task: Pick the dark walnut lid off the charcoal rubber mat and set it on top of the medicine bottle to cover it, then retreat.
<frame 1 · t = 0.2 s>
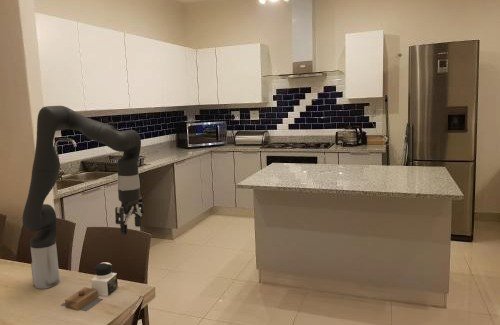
hand: (131, 230, 145), 28 cm above the table, fingers open, 8 cm apart
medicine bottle: (105, 293, 157), on the table
lid: (82, 302, 149), point 1 cm above the table, touching mat
mat: (82, 304, 149), on the table
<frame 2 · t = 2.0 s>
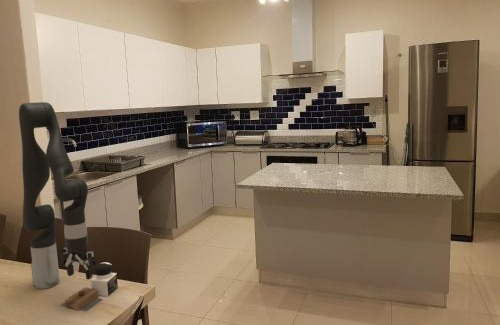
hand: (80, 276, 146), 11 cm above the table, fingers open, 8 cm apart
nothing on the table moved.
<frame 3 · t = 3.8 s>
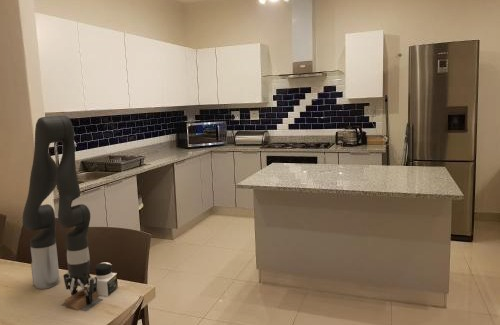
hand: (82, 301, 148), 1 cm above the table, fingers closed on lid, 6 cm apart
lid: (82, 302, 149), point 1 cm above the table, touching gripper, mat
everything else where it was.
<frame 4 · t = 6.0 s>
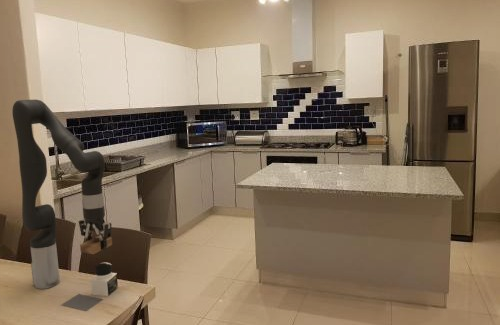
hand: (96, 247, 152), 20 cm above the table, fingers closed on lid, 6 cm apart
lid: (96, 248, 152), point 19 cm above the table, touching gripper
everything else where it was.
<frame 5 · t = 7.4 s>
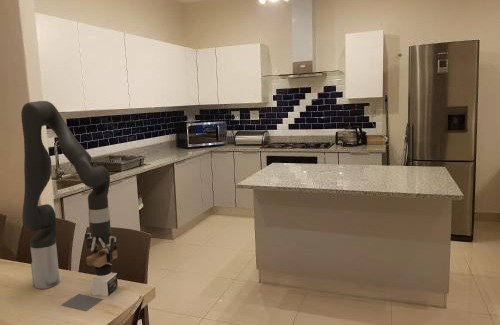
hand: (102, 260, 155), 14 cm above the table, fingers closed on lid, 6 cm apart
lid: (102, 261, 155), point 13 cm above the table, touching gripper
everything else where it was.
when the fingers open (14 cm above the table, at t = 8.5 s): lid drops 1 cm, resting on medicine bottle.
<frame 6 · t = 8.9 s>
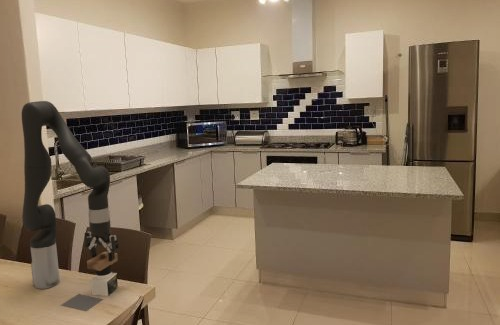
hand: (102, 259, 155), 14 cm above the table, fingers open, 8 cm apart
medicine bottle: (105, 293, 157), on the table, touching lid
lid: (103, 264, 155), point 12 cm above the table, touching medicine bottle
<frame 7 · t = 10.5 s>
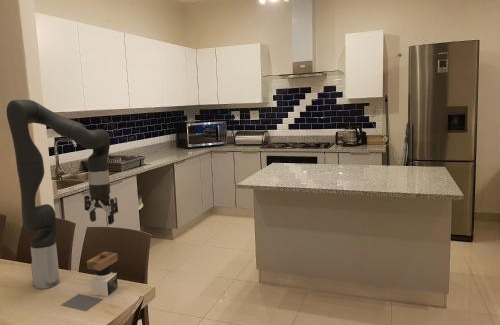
hand: (102, 222, 156), 28 cm above the table, fingers open, 8 cm apart
nothing on the table moved.
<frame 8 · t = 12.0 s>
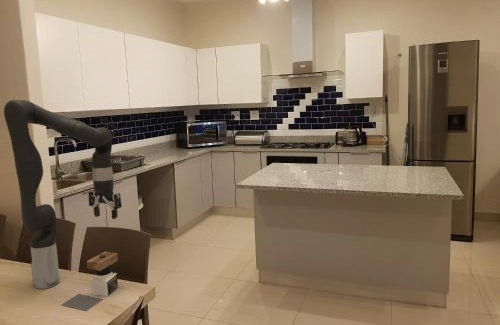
hand: (106, 217, 161), 28 cm above the table, fingers open, 8 cm apart
nothing on the table moved.
at the end: lid 0.0 cm off-centre on the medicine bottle, point 12.2 cm above the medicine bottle's base; lid touching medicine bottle; the gripper is holding nothing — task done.
